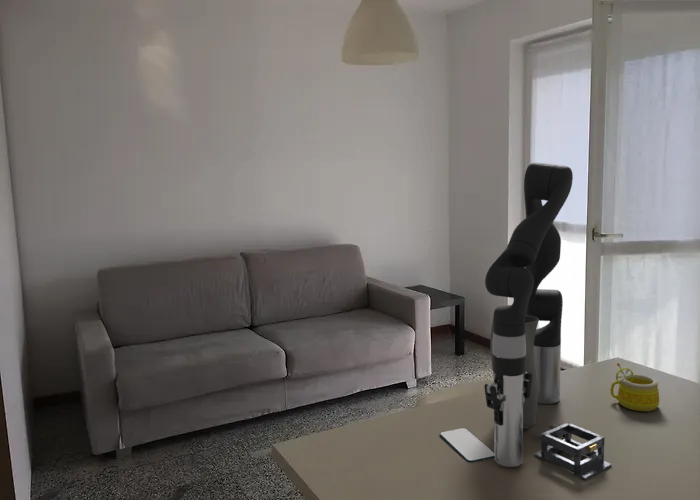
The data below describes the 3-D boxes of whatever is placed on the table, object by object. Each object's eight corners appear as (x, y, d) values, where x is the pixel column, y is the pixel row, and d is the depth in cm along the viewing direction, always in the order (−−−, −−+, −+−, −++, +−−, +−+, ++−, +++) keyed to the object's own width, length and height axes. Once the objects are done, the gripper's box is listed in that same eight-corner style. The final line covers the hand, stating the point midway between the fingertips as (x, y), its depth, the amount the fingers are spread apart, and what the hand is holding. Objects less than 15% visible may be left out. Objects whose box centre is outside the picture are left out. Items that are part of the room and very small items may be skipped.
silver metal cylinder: (523, 468, 137) (524, 364, 133) (494, 466, 139) (494, 363, 134) (521, 454, 143) (522, 355, 139) (493, 452, 145) (493, 354, 141)
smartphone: (497, 458, 145) (465, 430, 160) (497, 455, 145) (465, 427, 160) (468, 465, 142) (438, 435, 157) (468, 461, 142) (438, 432, 157)
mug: (660, 402, 172) (662, 362, 170) (656, 417, 163) (658, 375, 161) (613, 394, 179) (614, 356, 177) (606, 408, 170) (608, 367, 168)
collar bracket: (534, 455, 144) (534, 430, 143) (560, 443, 150) (560, 419, 149) (585, 480, 133) (585, 453, 132) (611, 466, 138) (612, 440, 137)
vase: (507, 439, 153) (508, 326, 149) (482, 420, 165) (482, 315, 160) (547, 431, 157) (549, 321, 152) (520, 413, 169) (521, 310, 164)
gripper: (517, 341, 144) (516, 407, 146) (474, 354, 136) (475, 423, 139) (542, 349, 138) (541, 417, 140) (499, 362, 130) (499, 435, 132)
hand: (508, 420), depth 139 cm, fingers closed on silver metal cylinder, 5 cm apart
